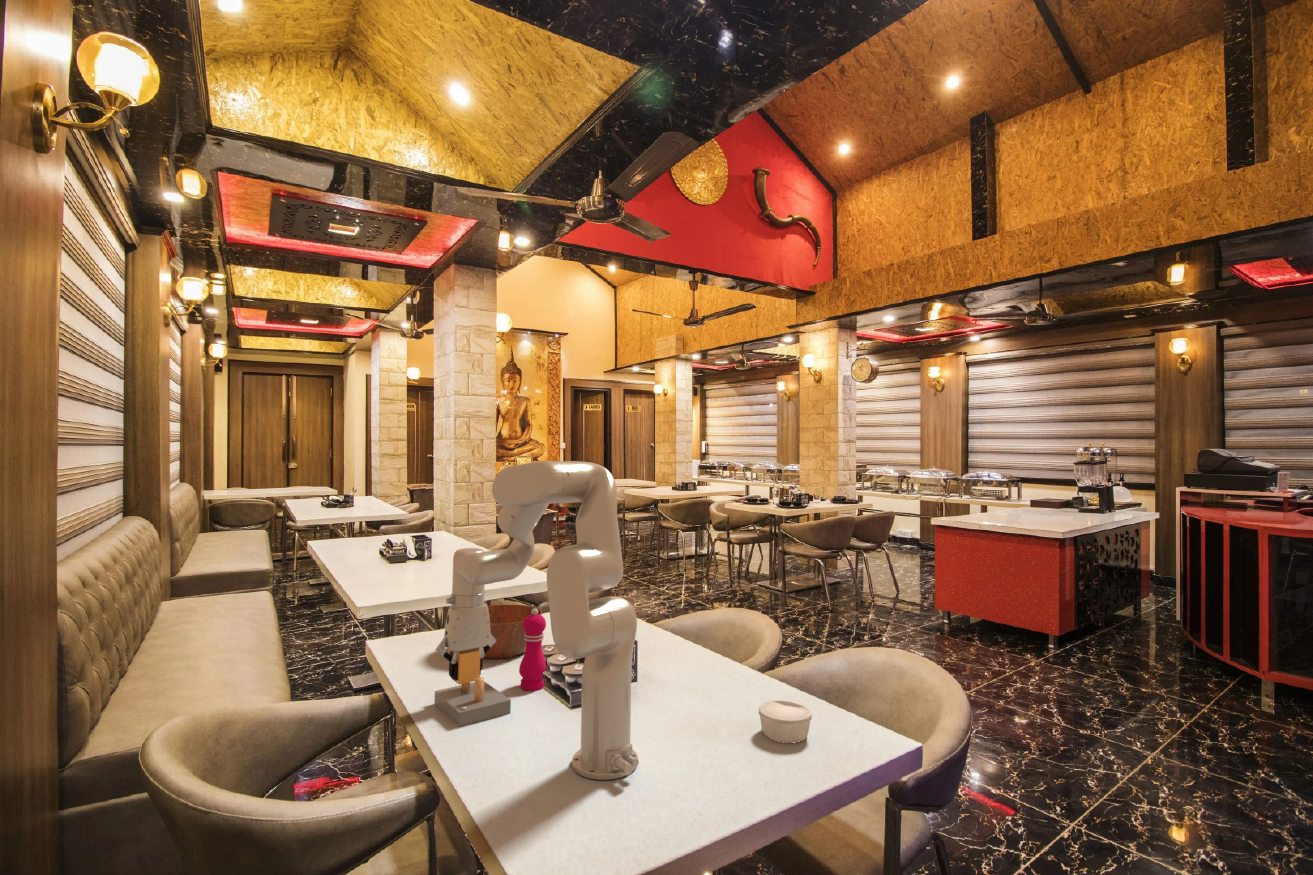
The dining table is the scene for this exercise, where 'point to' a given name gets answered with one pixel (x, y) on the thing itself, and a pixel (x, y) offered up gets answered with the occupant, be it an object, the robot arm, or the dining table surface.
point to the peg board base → (472, 702)
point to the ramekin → (785, 721)
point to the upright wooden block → (468, 666)
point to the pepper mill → (533, 652)
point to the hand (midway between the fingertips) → (465, 675)
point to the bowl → (508, 630)
